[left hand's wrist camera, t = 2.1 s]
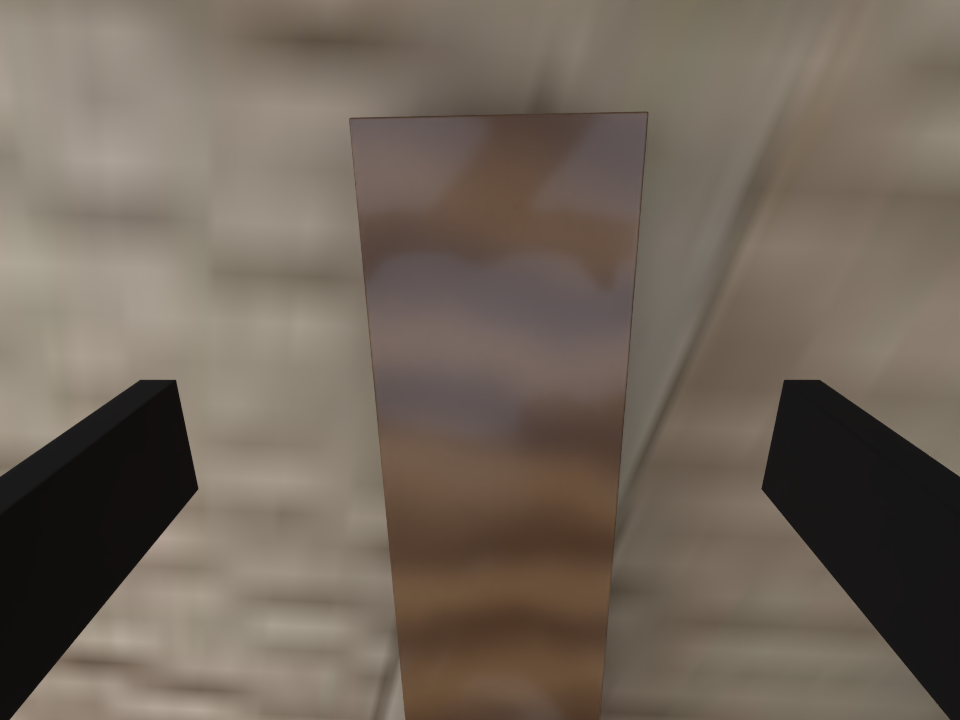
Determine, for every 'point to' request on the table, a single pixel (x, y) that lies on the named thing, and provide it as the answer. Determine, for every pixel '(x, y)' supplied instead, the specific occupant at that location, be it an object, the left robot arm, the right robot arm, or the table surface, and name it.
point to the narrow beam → (500, 395)
